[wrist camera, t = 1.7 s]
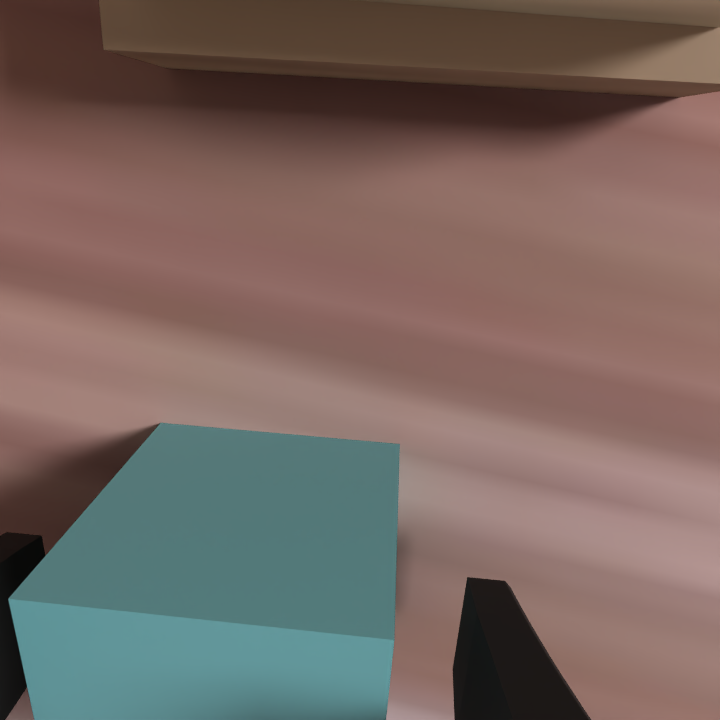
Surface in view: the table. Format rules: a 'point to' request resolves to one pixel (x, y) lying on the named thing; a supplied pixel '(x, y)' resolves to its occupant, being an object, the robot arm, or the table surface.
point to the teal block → (221, 584)
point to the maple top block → (596, 9)
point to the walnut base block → (416, 44)
